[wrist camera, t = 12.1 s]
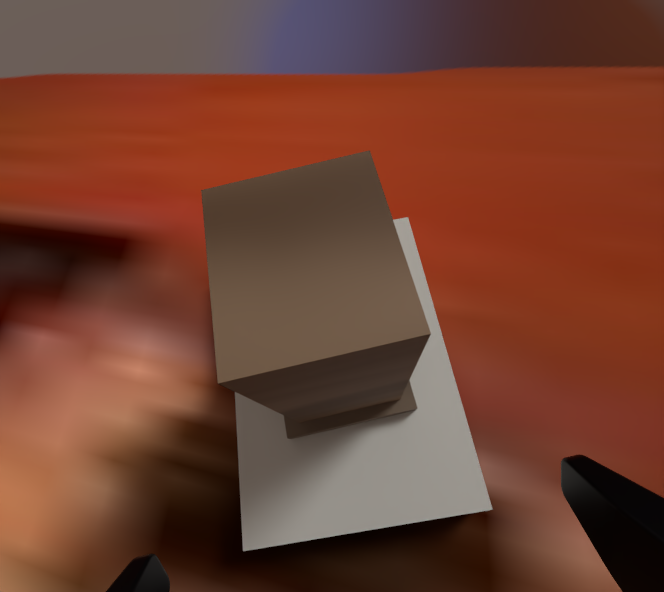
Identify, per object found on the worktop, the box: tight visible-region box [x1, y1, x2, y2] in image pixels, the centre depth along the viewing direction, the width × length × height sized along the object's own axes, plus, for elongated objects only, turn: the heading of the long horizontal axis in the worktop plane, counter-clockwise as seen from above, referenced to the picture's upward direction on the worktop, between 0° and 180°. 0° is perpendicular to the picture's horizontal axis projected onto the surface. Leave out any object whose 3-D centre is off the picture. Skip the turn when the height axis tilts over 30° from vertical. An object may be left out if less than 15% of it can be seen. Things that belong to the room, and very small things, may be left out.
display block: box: [235, 217, 493, 551], centre depth 19 cm, size 14×10×2 cm
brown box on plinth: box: [201, 151, 431, 439], centre depth 13 cm, size 6×6×10 cm
